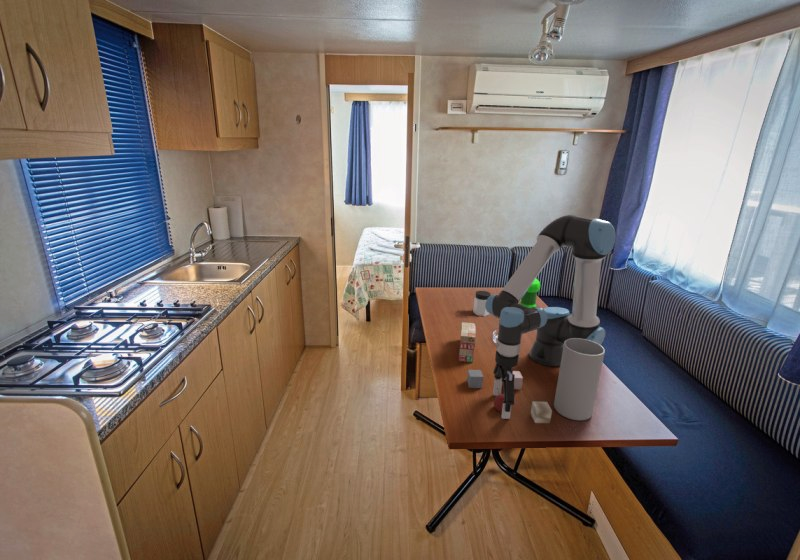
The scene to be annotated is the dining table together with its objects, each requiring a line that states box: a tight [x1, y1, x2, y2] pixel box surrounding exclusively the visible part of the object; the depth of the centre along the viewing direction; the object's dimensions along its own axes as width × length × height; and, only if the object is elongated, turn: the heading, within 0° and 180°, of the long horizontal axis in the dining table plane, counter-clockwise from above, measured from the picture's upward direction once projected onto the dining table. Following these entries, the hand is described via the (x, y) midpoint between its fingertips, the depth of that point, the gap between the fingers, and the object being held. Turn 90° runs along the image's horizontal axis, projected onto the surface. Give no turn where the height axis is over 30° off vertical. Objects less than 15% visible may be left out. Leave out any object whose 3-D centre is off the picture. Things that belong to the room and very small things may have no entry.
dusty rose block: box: [505, 370, 524, 390], centre depth 157 cm, size 5×5×5 cm
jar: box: [472, 290, 492, 317], centre depth 226 cm, size 9×8×12 cm
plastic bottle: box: [518, 278, 541, 308], centre depth 226 cm, size 10×10×25 cm
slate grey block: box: [466, 369, 484, 389], centre depth 157 cm, size 5×5×5 cm
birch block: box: [530, 400, 553, 424], centre depth 138 cm, size 5×5×5 cm
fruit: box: [493, 388, 504, 413], centre depth 144 cm, size 6×6×8 cm
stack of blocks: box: [458, 321, 477, 363], centre depth 183 cm, size 21×6×12 cm, turn 170°
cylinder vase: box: [553, 338, 606, 421], centre depth 140 cm, size 12×12×25 cm
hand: (500, 406), depth 145 cm, fingers open, 13 cm apart
